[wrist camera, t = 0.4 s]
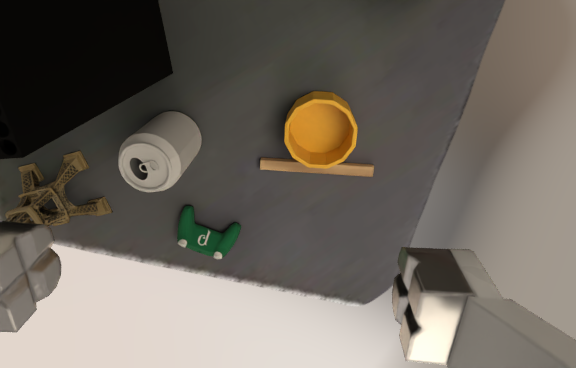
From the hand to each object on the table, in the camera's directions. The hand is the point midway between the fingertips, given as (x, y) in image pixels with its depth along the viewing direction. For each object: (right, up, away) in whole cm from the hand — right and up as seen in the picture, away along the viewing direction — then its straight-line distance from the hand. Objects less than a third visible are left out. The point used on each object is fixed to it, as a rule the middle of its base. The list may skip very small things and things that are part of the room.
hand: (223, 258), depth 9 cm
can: (-14, +9, +47) cm, 50 cm away
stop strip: (+6, +4, +47) cm, 48 cm away
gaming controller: (-11, -5, +53) cm, 54 cm away
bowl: (+6, +10, +45) cm, 46 cm away
